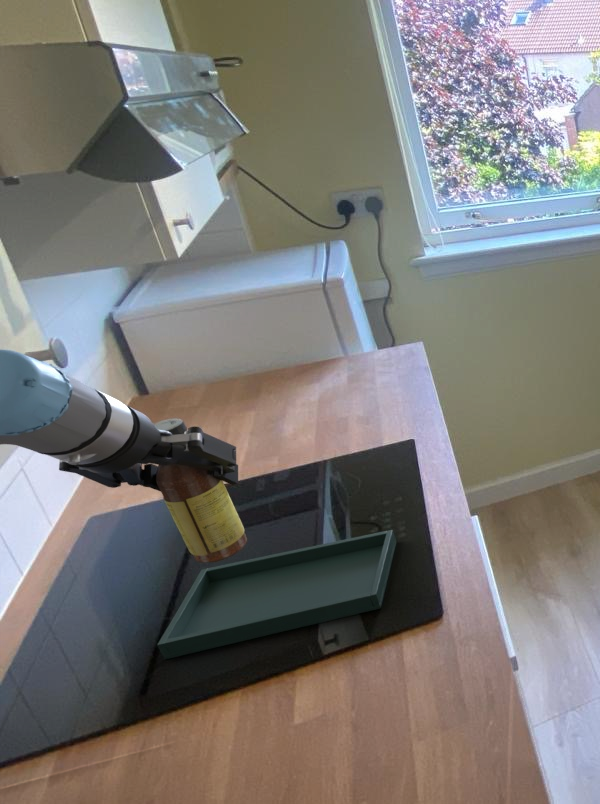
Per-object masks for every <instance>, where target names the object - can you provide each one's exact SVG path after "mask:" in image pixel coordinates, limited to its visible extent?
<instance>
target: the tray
mask: <svg viewBox="0 0 600 804" xmlns="http://www.w3.org/2000/svg"><path fill="white" fill-rule="evenodd" d="M396 547H397V540H396V537H395V534H394V530H393V529H388V530H384V531H379V532H374V533H370V534H364V535H360V536H355V537H351V538H346V539H341V540H336V541H331V542H327V543H322V544H317V545H312V546H308V547H301V548H298V549H293V550H288V551H283V552H278V553H274V554H269V555H264V556H259V557H255V558H254V557H253V558H250V559H245V560H240V561H235V562H231V563H225V564H221V565H215V566H212V567H207V568H202V569H201V570H200V572H199V573H198V575H197V577H196V579H195V580H194V582H193V584H192V586H191V587H190V588H189V590H188V592H187V594H186V595H185V597H184V598H183V600H182V602H181V604H180V605H179V607H178V609H177V611H176V612H175V614H174V615H173V617H172V619H171V621H170V622H169V624H168V626H167V628H166V629H165V631H164V633H163V634H162V636H161V638H160V639H159V641H158V643H157V648H158V650H159V651H160V654H161V655H162V657H163V659H164V660H169V659H174V658H177V657H182V656H186V655H189V654H190V655H191V654H194V653H199V652H202V651H207V650H212V649H216V648H219V647H220V648H221V647H223V646H228V645H232V644H237V643H242V642H246V641H249V640H253V639H254V640H255V639H259V638H262V637H267V636H271V635H274V634H279V633H283V632H287V631H291V630H295V629H300V628H305V627H309V626H313V625H316V624H317V625H318V624H321V623H325V622H329V621H335V620H338V619H343V618H346V617H351V616H355V615H359V614H364V613H367V612H372V611H376V610H380V609H382V605H383V601H384V596H385V592H386V589H387V584H388V580H389V576H390V571H391V568H392V564H393V559H394V555H395V550H396Z"/></svg>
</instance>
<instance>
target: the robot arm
mask: <svg viewBox="0 0 600 804" xmlns="http://www.w3.org/2000/svg"><path fill="white" fill-rule="evenodd" d="M154 424H155V423H153V422H152V420H151V419H150V418H149V417H148V416H147V415H145V414H144V413H143V412H141V411H139V410H136V409H135V408H134V407H131V406H129V405H127V404H125V403H123V402H122V401H120V400H119V399H117V398H115V397H112V396H110V395H109V394H106V393H105V392H102V391H100V390H98V389H96V388H93V387H92V386H90V385H88V384H86V383H84V382H82V381H81V380H79V379H77V378H75V377H73V376H72V375H70V374H68V373H66V372H64V371H63V370H60V369H59V367H57V366H55V365H53V364H51V363H48V362H47V361H44V360H40V359H38V358H36V357H32V356H29V355H26V354H24V353H22V352H18V351H15V350H11V349H0V446H1V445H12V446H17V447H20V448H23V449H27V450H30V451H32V452H35V453H38V454H41V455H45V456H48V457H50V458H54V459H57V460H59V464H58V470H59V472H60V471H61V472H65V473H72V474H76V475H78V476H82V477H84V478H86V479H88V480H91V481H93V482H95V483H97V484H100V485H103V486H105V487H108V488H112V489H115V488H119V487H121V486H122V484H125V483H127V484H128V485H129V486H133V487H135V486H140V487H144V488H149V489H153V490H155V491H158V492H160V493H161V490H160V488H159V487H158V485H157V482H156V472H157V469H158V465H163V466H167V465H170V464H179V465H184V466H190V467H195V468H200V469H206V470H207V474H209V475H211V476H213V477H215V478H218V479H220V480H222V481H223V483H224V482H225V483H226V484H229V485H232V486H234V485H239V464H238V463H237V446H235V445H233V444H231V443H228V442H227V441H224V440H222V439H220V438H217V437H215V436H213V435H210V434H208V433H206V432H204V430H203V428H202V427H200V426H195V425H194V426H190V427H187V431H186V432H184V434H178V435H172V433H171V432H169V431H164V430H159V429H157V428H156V427H155V426H154Z"/></svg>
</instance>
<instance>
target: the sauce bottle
mask: <svg viewBox="0 0 600 804" xmlns="http://www.w3.org/2000/svg"><path fill="white" fill-rule="evenodd" d="M153 424H154V426H155V427H156V428H157V429H159V430H164V431H169V432H171V433H172V435H178V434H184V432H186V431H188V427H187V425H186V424H185V421H184V420H183V419H182V418H181V419H180V418H168V419H163V420H161V421H160V420H159V421H157V422H155V423H153ZM157 466H158V469H157V472H156V482H157V485H158V487H159V488H160V490H161V492H160V493H161V494H162V498H163V501H164V503H165V505H166V507H167V509H168V511H169V513H170V515H171V517H172V519H173V521H174V523H175V525H176V528H177V529H178V531H179V533H180V535H181V538H182V540H183V541H184V544H185V546H186V547H187V549H188V552H189V553H190V554H191V555H193V558H194V559H195V561H196V562H198V563H202V564H205V563H207V564H208V563H217V562H220V561H223V560H226V559H228V558H231V557H232V556H234V555H236V554H238V553H239V552H240V551H242V550H243V549H244V547H245V546H246V545H247V542H248V538H247V535H246V533H245V531H246V530H245V527H244V524H243V522H242V520H241V518H240V515H239V513H238V512H237V510H236V507H235V505H234V503H233V500H232V498H231V497H230V494H229V492H228V490H227V487H226V485H225V483H224V481H222V480H220V479H218V478H215V477H213V476H211V475H209V474H207V470H206V469H200V468H195V467H190V466H184V465H179V464H170V465H167V466H163V465H158V464H157Z"/></svg>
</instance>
